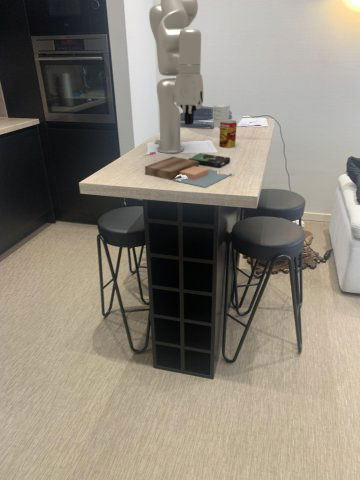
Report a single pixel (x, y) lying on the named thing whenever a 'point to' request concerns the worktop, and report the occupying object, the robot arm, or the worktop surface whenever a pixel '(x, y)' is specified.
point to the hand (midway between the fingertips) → (188, 123)
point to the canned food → (227, 133)
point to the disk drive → (211, 160)
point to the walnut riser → (169, 167)
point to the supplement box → (220, 114)
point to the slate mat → (205, 179)
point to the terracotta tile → (195, 172)
